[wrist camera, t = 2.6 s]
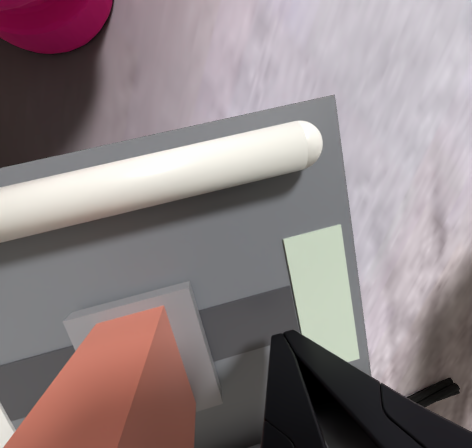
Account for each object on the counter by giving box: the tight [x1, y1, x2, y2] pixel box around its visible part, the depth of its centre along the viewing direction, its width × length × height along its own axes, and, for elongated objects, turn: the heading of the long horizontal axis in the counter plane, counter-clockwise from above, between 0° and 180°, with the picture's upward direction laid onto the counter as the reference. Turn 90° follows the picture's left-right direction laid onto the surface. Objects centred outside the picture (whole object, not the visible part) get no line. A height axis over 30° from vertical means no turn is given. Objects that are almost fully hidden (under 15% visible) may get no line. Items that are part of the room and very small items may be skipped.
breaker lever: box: [3, 281, 223, 448], centre depth 7 cm, size 4×5×5 cm
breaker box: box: [0, 95, 371, 448], centre depth 11 cm, size 18×16×6 cm
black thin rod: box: [408, 378, 460, 408], centre depth 17 cm, size 12×1×1 cm, turn 109°
